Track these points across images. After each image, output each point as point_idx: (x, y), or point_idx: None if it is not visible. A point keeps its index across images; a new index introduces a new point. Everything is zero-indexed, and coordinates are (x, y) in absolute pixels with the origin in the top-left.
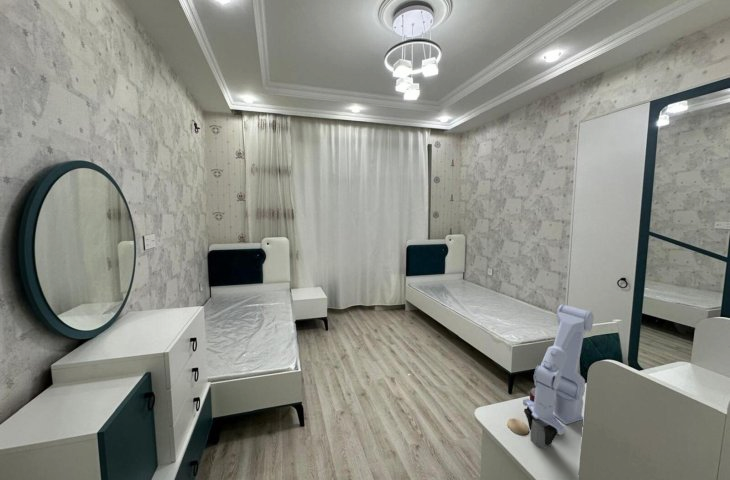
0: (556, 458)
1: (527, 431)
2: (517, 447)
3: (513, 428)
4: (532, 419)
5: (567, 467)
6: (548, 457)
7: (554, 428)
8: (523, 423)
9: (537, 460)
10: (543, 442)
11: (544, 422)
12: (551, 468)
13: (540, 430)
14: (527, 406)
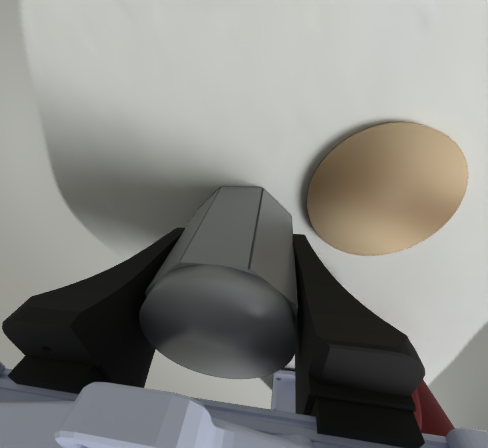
0: (134, 213)
1: (313, 219)
2: (239, 22)
3: (386, 148)
4: (276, 311)
5: (88, 216)
6: (141, 181)
7: (19, 379)
8: (371, 248)
9: (120, 93)
10: (189, 225)
11: (211, 353)
12: (71, 133)
13: (169, 267)
14: (422, 441)
